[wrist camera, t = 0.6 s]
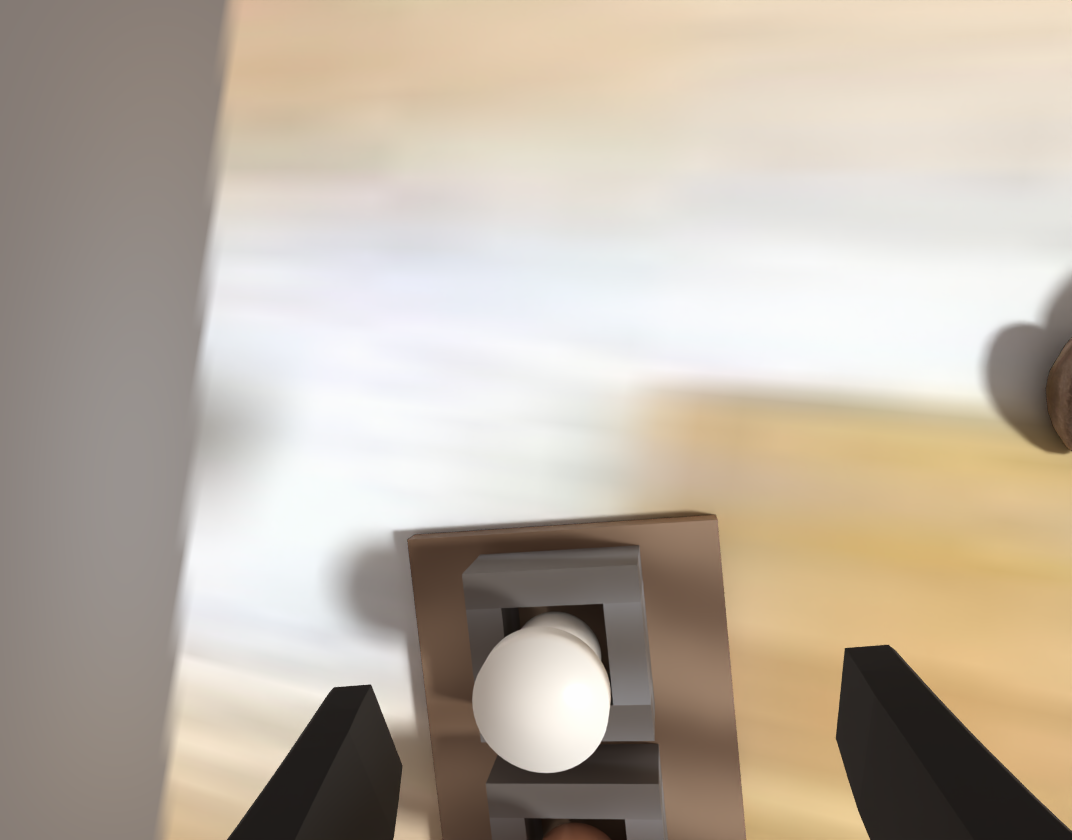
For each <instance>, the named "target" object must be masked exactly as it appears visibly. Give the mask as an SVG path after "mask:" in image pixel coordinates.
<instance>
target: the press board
mask: <svg viewBox="0 0 1072 840" xmlns="http://www.w3.org/2000/svg"><path fill="white" fill-rule="evenodd" d="M407 542H408V550H409V559H410V567H411V576H412V584H413V592H414V601H415V609H416V618H417V626H418V635H419V643H420V651H421V660H422V668H423V677H424V685H425V694H426V702H427V710H428V719H429V727H430V736H431V744H432V753H433V761H434V769H435V778H436V786H437V795H438V803H439V812H440V820H441V828H442V837H443V840H542V839H543V838H544V837H545V835H546V834H547V833H548V832H549V831H551V830H552V829H553V828H555V827H557V826H559V825H562V824H566V823H584V824H588V825H591V826H593V827H595V828H598V829H599V830H601V831H602V832H604V833H605V834H606V835H607V836H608V837H609V838H610V839H611V840H746V831H745V820H744V809H743V798H742V786H741V775H740V764H739V753H738V742H737V731H736V720H735V709H734V697H733V686H732V675H731V664H730V653H729V642H728V631H727V620H726V608H725V597H724V586H723V575H722V564H721V553H720V542H719V531H718V520H717V517H716V515H705V516H689V517H674V518H659V519H644V520H628V521H613V522H598V523H583V524H567V525H552V526H537V527H522V528H506V529H491V530H476V531H461V532H445V533H430V534H415V535H413V536H412V537H410V538H409V539H408V540H407ZM553 611H554V612H564V613H568V614H571V615H573V616H576V617H577V618H579V619H581V620H582V621H583V622H585V623H586V624H587V625H588V626H589V627H590V628H591V630H592V631H593V632H594V634H595V635H596V637H597V639H598V642H599V645H600V649H601V662H602V663H603V665H604V668H605V670H606V672H607V675H608V678H609V682H610V688H611V702H610V710H609V717H608V724H607V728H606V732H605V734H604V737H603V739H602V741H601V743H600V744H599V746H598V747H597V749H596V750H595V751H594V752H593V754H592V755H591V756H589V757H588V758H587V759H586V760H585V761H583V762H582V763H580V764H579V765H577V766H575V767H573V768H570V769H567V770H565V771H560V772H555V773H538V772H533V771H528V770H525V769H522V768H519V767H517V766H515V765H513V764H511V763H509V762H508V761H506V760H504V759H503V758H502V757H500V756H499V755H498V754H497V753H496V752H495V751H494V750H493V749H492V748H491V747H490V746H489V745H488V743H487V742H486V741H485V739H484V738H483V736H482V734H481V733H480V731H479V728H478V726H477V724H476V720H475V717H474V712H473V704H472V696H473V688H474V684H475V681H476V678H477V675H478V673H479V671H480V669H481V668H482V666H483V664H484V662H485V661H486V659H487V657H488V656H489V654H490V652H491V651H492V650H493V648H494V647H495V646H496V645H497V644H498V643H499V642H500V641H501V640H502V639H504V638H505V637H506V636H508V635H510V634H512V633H513V632H516V631H518V630H521V628H522V627H523V626H524V625H525V624H526V623H527V622H528V621H529V620H530V619H531V618H533V617H535V616H537V615H539V614H542V613H546V612H553Z"/></svg>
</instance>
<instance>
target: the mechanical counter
mask: <svg viewBox="0 0 1072 840" xmlns="http://www.w3.org/2000/svg"><path fill="white" fill-rule="evenodd" d="M1046 397H1047V408H1048V413H1049V416H1050V419H1051V422H1052V425H1053V427H1054V429H1055V430H1056V432H1057V433H1058V435H1059V437H1060V438H1061V440H1062V441H1063V443H1064V444H1065V446H1066V447H1067V448H1069V449H1070V450H1071V451H1072V338H1071V339H1070V340H1069V341H1068V342H1067V344H1066V345H1065V346H1064V348H1063V350H1062V351H1061V353H1060V355H1059V356H1058V358H1057V360H1056V361H1055V363H1054V364H1053V366H1052V368H1051V369H1050V372H1049V375H1048V379H1047V385H1046Z"/></svg>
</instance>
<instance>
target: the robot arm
mask: <svg viewBox="0 0 1072 840" xmlns="http://www.w3.org/2000/svg"><path fill="white" fill-rule="evenodd" d="M836 740H837V743H838V747H839V750H840V753H841V757H842V760H843V763H844V767H845V770H846V773H847V777H848V780H849V783H850V786H851V789H852V792H853V796H854V799H855V802H856V805H857V808H858V811H859V814H860V816H861V818H862V821H863V823H864V826H865V828H866V831H867V833H868V835H869V838H870V840H1072V831H1071V830H1070V829H1069V828H1068V827H1067V826H1066V825H1065V824H1063V823H1062V822H1061V821H1060V820H1059V819H1058V818H1057V817H1056V816H1055V815H1054V814H1053V813H1052V812H1051V811H1050V810H1049V809H1048V808H1047V807H1046V806H1044V805H1043V804H1042V803H1041V802H1040V801H1039V800H1038V799H1037V798H1036V797H1035V796H1034V795H1033V794H1032V793H1031V792H1030V791H1029V790H1028V789H1027V788H1026V787H1025V786H1024V785H1023V784H1022V783H1021V782H1020V781H1019V780H1018V779H1017V778H1016V777H1015V776H1014V775H1013V774H1012V773H1011V772H1010V771H1009V770H1008V769H1007V768H1006V767H1005V766H1004V765H1003V764H1002V763H1001V762H1000V761H999V760H998V759H997V758H996V757H995V756H994V755H993V754H992V753H991V752H990V751H989V750H988V749H987V748H986V747H985V746H984V745H983V744H982V743H981V742H980V741H979V740H978V739H977V738H976V737H975V736H974V735H973V734H972V733H971V732H970V731H969V730H968V729H967V728H966V727H965V726H964V725H963V724H962V722H961V721H960V720H959V719H958V718H957V717H956V716H955V715H954V714H953V713H952V712H951V711H950V710H949V709H948V708H947V707H946V706H945V704H944V703H943V702H942V701H941V700H940V699H939V698H938V697H937V696H936V695H935V694H934V693H933V692H932V690H931V689H930V688H929V687H928V686H927V685H926V684H925V683H924V682H923V681H922V679H921V678H920V677H919V676H918V675H917V674H916V673H915V672H914V671H913V670H912V668H911V667H910V666H909V665H908V664H907V663H906V662H905V661H904V660H903V658H902V657H901V656H900V655H899V654H898V653H897V652H896V651H895V650H894V649H893V648H892V647H890V646H889V645H880V646H867V647H854V648H845V653H844V663H843V673H842V683H841V692H840V702H839V712H838V722H837V732H836ZM401 774H402V763H401V761H400V758H399V756H398V753H397V751H396V748H395V745H394V743H393V740H392V738H391V735H390V732H389V730H388V727H387V725H386V722H385V719H384V717H383V714H382V712H381V709H380V706H379V704H378V701H377V699H376V696H375V693H374V691H373V688H372V686H371V685H359V686H346V687H334V688H333V689H332V690H331V691H330V692H329V694H328V695H327V697H326V698H325V700H324V701H323V703H322V704H321V706H320V707H319V709H318V710H317V712H316V713H315V715H314V716H313V718H312V719H311V721H310V722H309V724H308V725H307V727H306V728H305V730H304V731H303V732H302V734H301V735H300V737H299V738H298V740H297V741H296V743H295V744H294V746H293V747H292V749H291V750H290V752H289V753H288V755H287V756H286V758H285V759H284V760H283V762H282V763H281V765H280V766H279V768H278V769H277V771H276V772H275V774H274V775H273V776H272V778H271V779H270V781H269V782H268V784H267V785H266V786H265V788H264V789H263V791H262V792H261V793H260V795H259V796H258V798H257V799H256V800H255V802H254V803H253V805H252V806H251V807H250V809H249V810H248V811H247V813H246V814H245V816H244V817H243V818H242V820H241V821H240V823H239V824H238V825H237V827H236V828H235V830H234V831H233V832H232V834H231V835H230V836H229V838H228V839H227V840H393V838H394V831H395V824H396V816H397V809H398V801H399V792H400V783H401Z"/></svg>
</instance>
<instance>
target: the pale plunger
mask: <svg viewBox="0 0 1072 840" xmlns="http://www.w3.org/2000/svg"><path fill="white" fill-rule="evenodd" d="M610 702H611V688H610V682H609V678H608V675H607V672H606V670H605V668H604V665H603V663H602V662H601V649H600V645H599V642H598V639H597V637H596V635H595V634H594V632H593V631H592V630H591V628H590V627H589V626H588V625H587V624H586V623H585V622H583V621H582V620H581V619H579V618H577V617H576V616H573V615H571V614H568V613H564V612H554V611H553V612H546V613H542V614H539V615H537V616H535V617H533V618H531V619H530V620H529V621H528V622H527V623H526V624H525V625H524V626H523V627H522V628H521V630H518V631H516V632H513V633H512V634H510V635H508V636H506V637H505V638H504V639H502V640H501V641H500V642H499V643H498V644H497V645H496V646H495V647H494V648H493V650H492V651H491V652H490V654H489V656H488V657H487V659H486V661H485V662H484V664H483V666H482V668H481V669H480V671H479V673H478V675H477V678H476V681H475V684H474V688H473V696H472V704H473V712H474V717H475V720H476V724H477V726H478V728H479V731H480V733H481V734H482V736H483V738H484V739H485V741H486V742H487V743H488V745H489V746H490V747H491V748H492V749H493V750H494V751H495V752H496V753H497V754H498V755H499V756H500V757H502V758H503V759H504V760H506V761H508V762H509V763H511V764H513V765H515V766H517V767H519V768H522V769H525V770H528V771H533V772H538V773H555V772H560V771H565V770H567V769H570V768H573V767H575V766H577V765H579V764H580V763H582V762H583V761H585V760H586V759H587V758H588V757H589V756H591V755H592V754H593V752H594V751H595V750H596V749H597V747H598V746H599V744H600V743H601V741H602V739H603V737H604V734H605V732H606V728H607V724H608V717H609V710H610Z"/></svg>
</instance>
